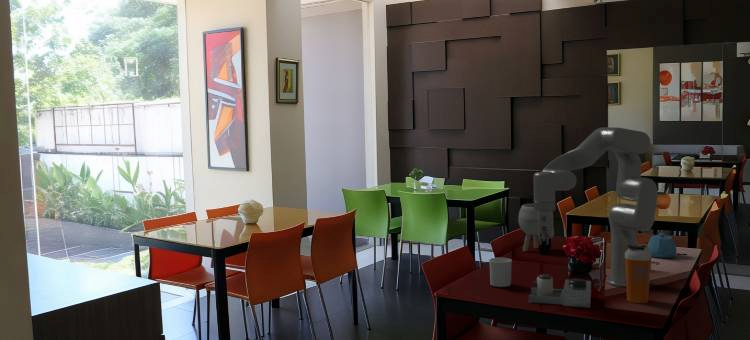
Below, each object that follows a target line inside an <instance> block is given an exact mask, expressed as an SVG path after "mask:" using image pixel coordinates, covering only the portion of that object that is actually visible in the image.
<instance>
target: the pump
mask: <svg viewBox="0 0 750 340" xmlns="http://www.w3.org/2000/svg"><path fill="white" fill-rule="evenodd" d="M532 287H533V288H537V295H539V296H553V289H554V278H553V276H552V275H550V274H546V273H541V274H538V276H537V277H536V280H533V282H532Z"/></svg>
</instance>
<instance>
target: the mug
mask: <svg viewBox="0 0 750 340" xmlns="http://www.w3.org/2000/svg"><path fill="white" fill-rule="evenodd" d="M512 261H513V260H512V259H511V258H507V257H492V258H489V259H488V262H489V263H488V264H489V281H490V285H489V286H491V288H495V289H507V288H510V287H511V286H512V263H513V262H512Z"/></svg>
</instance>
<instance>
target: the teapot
mask: <svg viewBox="0 0 750 340" xmlns="http://www.w3.org/2000/svg"><path fill="white" fill-rule="evenodd" d="M646 246H647V247H649V249H650V253H651V258H652V257H653V258H661V259H664V258H665V259H671V258H672V259H673V258H675V257H676V255H677V252H678V251H677V246H676V243H675V240H674V239H673V237H672V236H670V235H666V234H665V233H662V232H660V233H658V235H652V236H651V237H650V239H649V241H648V243H647V245H646Z"/></svg>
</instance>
